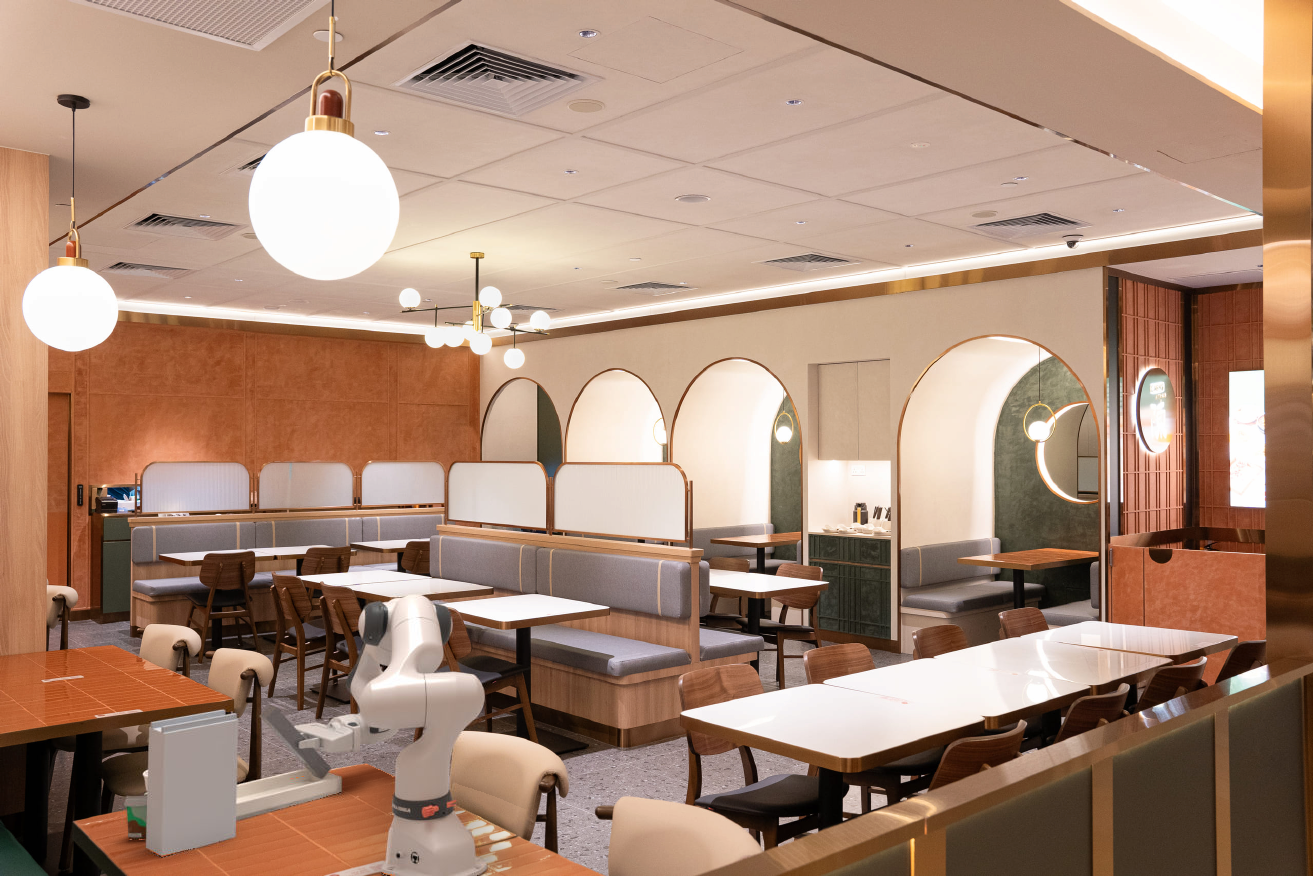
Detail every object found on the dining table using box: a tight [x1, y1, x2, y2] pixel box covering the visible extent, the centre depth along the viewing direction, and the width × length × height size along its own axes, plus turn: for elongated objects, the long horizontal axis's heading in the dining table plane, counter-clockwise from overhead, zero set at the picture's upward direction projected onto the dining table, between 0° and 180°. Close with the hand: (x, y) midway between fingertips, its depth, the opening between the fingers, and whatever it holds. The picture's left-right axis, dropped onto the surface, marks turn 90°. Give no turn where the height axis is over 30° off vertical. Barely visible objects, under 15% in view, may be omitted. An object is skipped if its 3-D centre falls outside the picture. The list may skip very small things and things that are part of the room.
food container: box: [123, 790, 147, 840], centre depth 219 cm, size 12×6×10 cm, turn 161°
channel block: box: [145, 709, 239, 856], centre depth 215 cm, size 8×16×27 cm, turn 139°
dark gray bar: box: [259, 705, 332, 779], centre depth 247 cm, size 4×24×4 cm
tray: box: [236, 767, 343, 822], centre depth 242 cm, size 14×31×4 cm, turn 139°
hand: (293, 743), depth 247 cm, fingers closed on dark gray bar, 3 cm apart
